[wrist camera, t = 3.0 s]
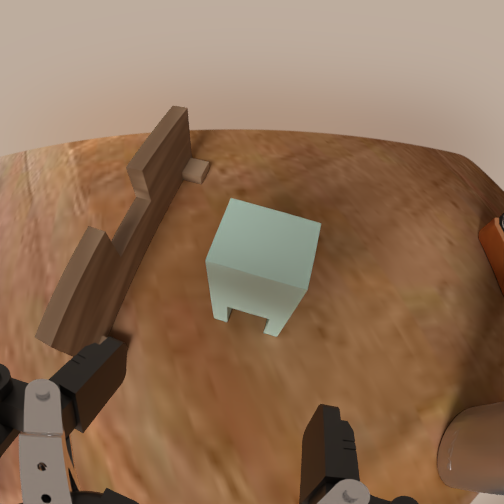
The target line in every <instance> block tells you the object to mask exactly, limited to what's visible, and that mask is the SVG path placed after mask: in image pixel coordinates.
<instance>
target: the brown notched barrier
mask: <svg viewBox="0 0 504 504" xmlns="http://www.w3.org/2000/svg"><path fill="white" fill-rule="evenodd" d="M126 169H127V172H128V175H129V178H130V181H131V183H132V186H133V189H134V192H135V195H136V198H135V200H134V202H133V203H132V205H131V207H130V209H129V210H128V212H127V214H126V216H125V217H124V219H123V221H122V223H121V224H120V226H119V228H118V230H117V232H116V233H115V235H114V237H113V239H112V241H111V240H110V239H109V237H108V235H107V234H106V232H105V231H102V230H99V229H96V228H93V227H90V226H88V228H87V230H86V231H85V233H84V235H83V237H82V239H81V240H80V242H79V244H78V246H77V248H76V249H75V251H74V253H73V255H72V257H71V259H70V261H69V263H68V265H67V266H66V268H65V270H64V272H63V274H62V276H61V278H60V280H59V283H58V285H57V287H56V289H55V291H54V293H53V295H52V297H51V300H50V302H49V304H48V306H47V308H46V311H45V313H44V315H43V318H42V320H41V322H40V325H39V327H38V330H37V332H36V335H35V338H37V339H39V340H40V341H42V342H43V343H45V344H47V345H48V346H50V347H52V348H54V349H57V350H59V351H61V352H64V353H66V354H68V355H71V356H73V357H74V356H75V355H77V353H78V352H79V351H80V350H82V349H83V348H84V347H85V346H88V345H90V344H93V343H97V344H99V345H100V344H101V343H102V342H103V341H104V340H105V339H106V338H107V337H108V335H109V333H110V330H111V328H112V325H113V323H114V321H115V318H116V316H117V313H118V311H119V309H120V306H121V304H122V302H123V300H124V297H125V295H126V293H127V290H128V288H129V286H130V284H131V282H132V279H133V277H134V275H135V273H136V271H137V269H138V267H139V264H140V262H141V260H142V258H143V256H144V254H145V252H146V250H147V248H148V246H149V244H150V242H151V240H152V238H153V236H154V234H155V232H156V230H157V228H158V226H159V224H160V222H161V220H162V218H163V216H164V214H165V212H166V210H167V209H168V207H169V205H170V203H171V201H172V199H173V197H174V196H175V194H176V192H177V190H178V188H179V186H180V185H181V183H182V181H183V180H186V181H190V182H194V183H199V184H202V182H203V180H204V178H205V176H206V175H207V173H208V171H209V162H208V161H203V160H199V159H194V158H192V153H191V142H190V132H189V122H188V109H187V108H185V107H178V106H172V107H171V109H170V110H169V111H168V112H167V114H166V115H165V116H164V117H163V119H162V120H161V121H160V122H159V124H158V125H157V126H156V127H155V129H154V130H153V131H152V133H151V134H150V135H149V136H148V138H147V139H146V140H145V142H144V143H143V144H142V146H141V147H140V148H139V150H138V151H137V153H136V154H135V155H134V157H133V158H132V160H131V161H130V162H129V164H128V165H127V167H126ZM127 350H128V347H127Z"/></svg>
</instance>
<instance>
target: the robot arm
mask: <svg viewBox="0 0 504 504" xmlns="http://www.w3.org/2000/svg"><path fill="white" fill-rule="evenodd" d="M126 358H127V345H126V343H124V342H122V341H120V340H117V339H115V338H113V337H107V338H106V339H105V340H104V341H103V342H102V343H101V344H100V345H99V344H97V343H93V344H90V345H88V346H85V347H84V348H83V349H82V350H80V351H79V352H78V353H77V355H75V356H74V357H73V358H72V359H71V360H69V361H68V362H67V363H66V364H65V365H64V366H63V367H62V368H61V369H60V370H59V371H58V372H57V373H55V374H54V375H53V376H52V377H51V378H50V379H49V380H46V379H37V380H34V381H32V382H30V383H25V382H22V381H19V380H16V379H14V378H11V375H10V372H9V370H8V368H7V367H6V366H4V365H2V364H0V457H1V456H2V455H3V453H4V452H5V451H6V449H7V448H8V447H9V446H10V444H11V443H12V442H13V441H14V439H15V438H16V437H17V436H18V434H19V433H20V432H21V433H20V434H19V463H20V479H21V490H22V499H23V503H20V504H139V503H137V502H136V501H134V500H132V499H129V498H127V497H125V496H123V495H121V494H118V493H116V492H114V491H112V490H110V489H108V488H106V490H105V491H104V493H99V492H93V491H81V488H80V484H79V480H78V477H77V473H76V468H75V462H74V456H73V450H72V443H71V436H70V433H71V432H72V431H73V430H74V428H75V429H77V430H78V431H80V432H82V433H84V431H85V430H86V429H87V427H88V426H89V425H90V424H91V422H92V421H93V420H94V418H95V417H96V416H97V414H98V413H99V412H100V411H101V409H102V408H103V407H104V405H105V404H106V403H107V402H108V400H109V399H110V398H111V396H112V395H113V394H114V393H115V391H116V390H117V389H118V388H119V386H120V385H121V384H122V382H123V380H124V378H125V375H126ZM22 432H23V433H22ZM354 442H355V439H354V432H353V429H352V428H351V426H350V425H349V423H348V421H343V420H341V418H340V410H339V408H338V407H334V406H329V405H324V404H320V405H319V406H318V408H317V410H316V411H315V413H314V415H313V417H312V418H311V420H310V422H309V424H308V425H307V427H306V429H305V432H304V435H303V441H302V464H301V484H300V500H299V504H418V502H417V501H416V500H414V499H413V498H411V497H408V496H400V497H397V498H395V499H394V500H393V501H387V500H384V499H380V498H377V497H374V496H372V495H370V493H369V490H368V489H367V487H366V486H365V485H364V484H363V483H361V482H360V479H359V470H358V462H357V454H356V451H355V450H356V446H355V443H354ZM438 472H439V475H440V477H441V479H442V481H443V482H444V483H445V484H446V485H448V486H449V487H452V488H458V489H463V490H469V491H475V492H480V493H488V494H496V495H504V402H499V403H493V404H488V405H482V406H476V407H471V408H468V409H466V410H464V411H462V412H461V413H460V414H459V415H457V416H456V417H455V418H454V420H453V421H452V422H451V423H450V425H449V426H448V428H447V430H446V431H445V434H444V436H443V438H442V440H441V444H440V447H439V452H438Z"/></svg>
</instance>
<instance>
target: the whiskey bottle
mask: <svg viewBox="0 0 504 504" xmlns="http://www.w3.org/2000/svg"><path fill="white" fill-rule="evenodd" d="M478 238H479V240H480V242H481V244H482V246H483V248H484V251H485V253H486V255H487V257H488V259H489V262H490V264H491V266H492V268H493V271H494V273H495V276H496V278H497V280H498V283H499V285H500V288H501V291H502V293H503V296H504V213H503V214H502V215H501V216H500V217H495V218H494V219H493V220H491V221H490V222H489V223H488V224H487V225H486V226H485V227H483V228H482V229H481V230H480V231H479V237H478Z"/></svg>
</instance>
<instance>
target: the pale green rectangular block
mask: <svg viewBox="0 0 504 504" xmlns="http://www.w3.org/2000/svg"><path fill="white" fill-rule="evenodd" d="M320 227H321V223H318V222H315V221H311V220H308V219H305V218H301V217H298V216H294V215H291V214H287V213H284V212H280V211H277V210H273V209H270V208H266V207H262V206H259V205H255V204H251V203H248V202H244V201H240V200H236V199H232V198H231V199H230V202H229V204H228V206H227V209H226V211H225V214H224V216H223V218H222V221H221V223H220V226H219V228H218V230H217V233H216V235H215V238H214V240H213V243H212V245H211V248H210V250H209V253H208V255H207V258H206V260H205V261H206V268H207V275H208V282H209V289H210V296H211V302H212V309H213V315H214V318H215V319H218V320H222V321H225V322H228V319H229V316H230V313H231V310H232V308H233V309H236V310H240V311H243V312H247V313H250V314H253V315H257V316H260V317H264V318H267V322H266V326H265V329H264V332H263V333H265V334H269V335H272V336H276V337H277V336H278V334H279V333H280V331H281V330H282V328H283V327H284V325H285V324H286V322H287V321H288V319H289V318H290V316H291V315H292V313H293V312H294V310H295V309H296V307H297V306H298V304H299V302H300V301H301V299H302V298H303V296H304V295H305V293H306V291H307V290H308V285H309V281H310V276H311V271H312V267H313V262H314V257H315V252H316V248H317V243H318V238H319V232H320Z"/></svg>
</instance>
